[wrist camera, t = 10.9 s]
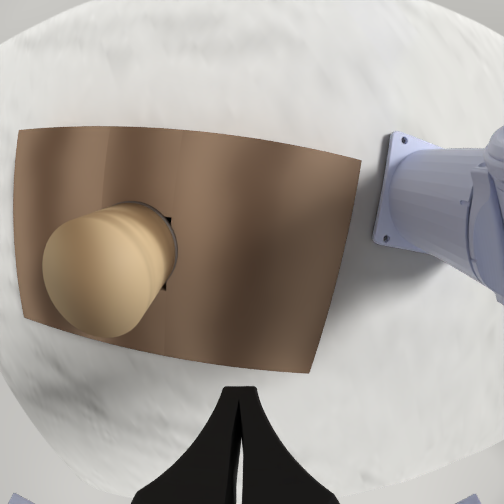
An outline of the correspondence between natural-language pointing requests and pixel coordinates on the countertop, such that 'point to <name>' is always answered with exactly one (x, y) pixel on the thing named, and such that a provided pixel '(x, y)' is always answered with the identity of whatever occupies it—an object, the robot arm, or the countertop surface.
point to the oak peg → (109, 266)
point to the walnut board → (199, 235)
